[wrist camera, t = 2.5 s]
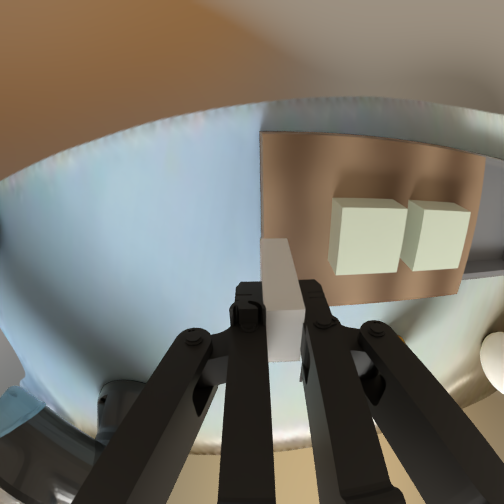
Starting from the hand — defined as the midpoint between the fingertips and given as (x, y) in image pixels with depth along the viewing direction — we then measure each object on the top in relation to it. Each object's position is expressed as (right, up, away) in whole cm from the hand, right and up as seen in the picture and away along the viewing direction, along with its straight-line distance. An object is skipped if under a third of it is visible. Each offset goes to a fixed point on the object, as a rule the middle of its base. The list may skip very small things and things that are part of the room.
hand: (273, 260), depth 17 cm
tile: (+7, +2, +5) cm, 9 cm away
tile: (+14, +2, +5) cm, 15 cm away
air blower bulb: (+39, -14, +20) cm, 46 cm away
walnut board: (+10, +5, +10) cm, 15 cm away
